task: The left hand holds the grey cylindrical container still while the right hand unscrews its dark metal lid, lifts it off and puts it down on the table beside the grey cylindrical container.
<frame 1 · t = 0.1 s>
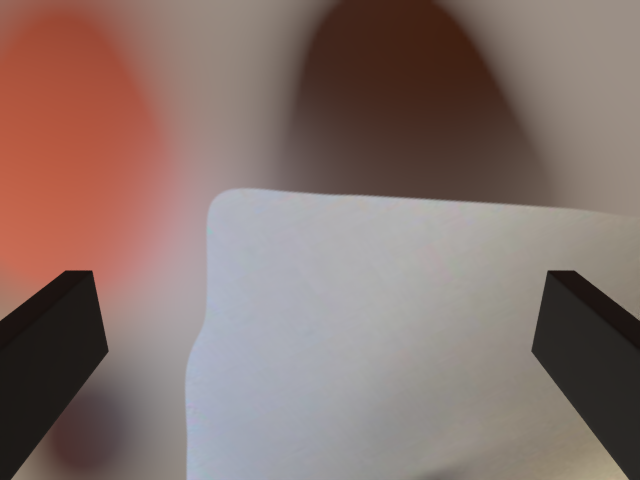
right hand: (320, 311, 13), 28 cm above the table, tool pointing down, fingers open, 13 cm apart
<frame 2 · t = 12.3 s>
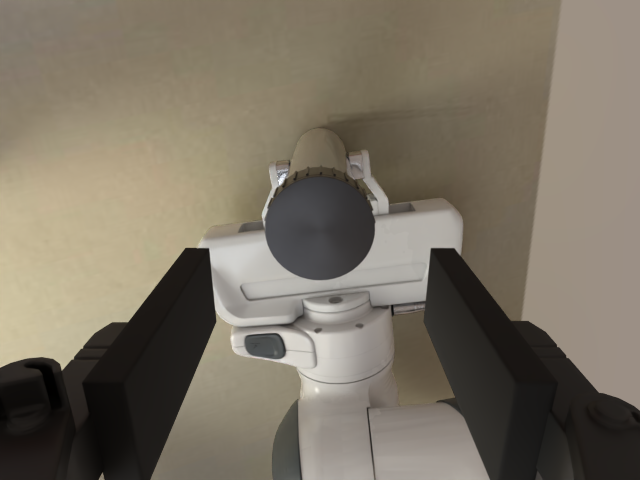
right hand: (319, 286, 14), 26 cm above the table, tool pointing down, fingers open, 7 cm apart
left hand: (317, 156, 32), fingers closed on grey cylindrical container, 4 cm apart
lid: (319, 228, 20), point 20 cm above the table, screwed on, not yet turned
grey cylindrical container: (320, 153, 38), on the table, touching left hand
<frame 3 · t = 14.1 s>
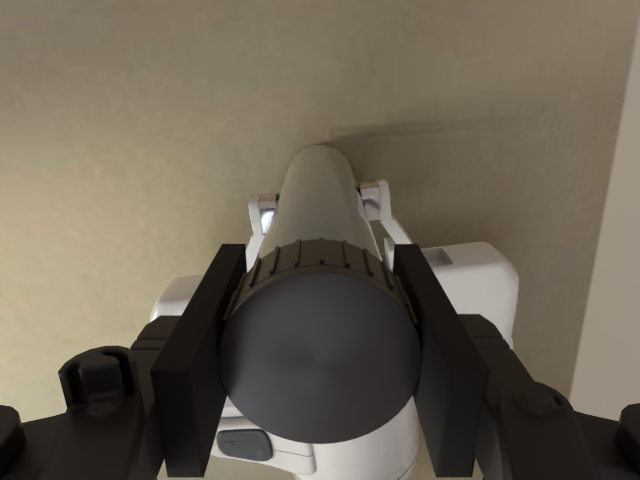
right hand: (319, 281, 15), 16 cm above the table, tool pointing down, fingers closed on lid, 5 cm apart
lid: (319, 356, 11), point 20 cm above the table, screwed on, not yet turned, touching right hand
grey cylindrical container: (320, 177, 29), on the table, touching left hand
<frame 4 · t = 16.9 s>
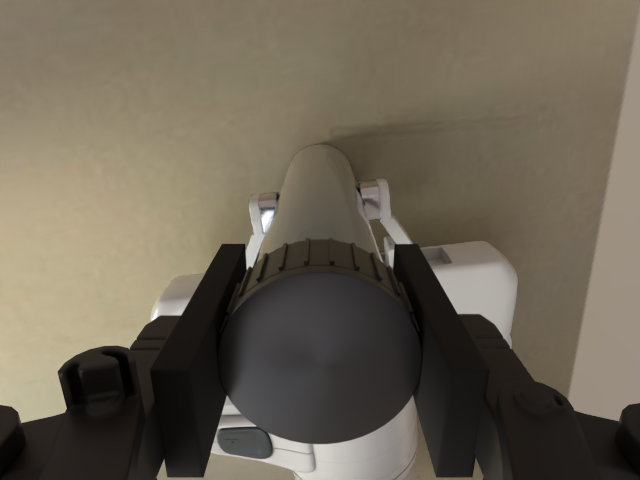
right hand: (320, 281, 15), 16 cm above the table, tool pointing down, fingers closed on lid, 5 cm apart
lid: (319, 357, 11), point 20 cm above the table, turned 64° so far, risen 0.2 cm, still on its thread, touching right hand
grey cylindrical container: (319, 176, 30), on the table, touching left hand
when the right hand's fingers open (0 cm above the table, at t = 25.5 s): lid drops 3 cm, point 2 cm above the table.
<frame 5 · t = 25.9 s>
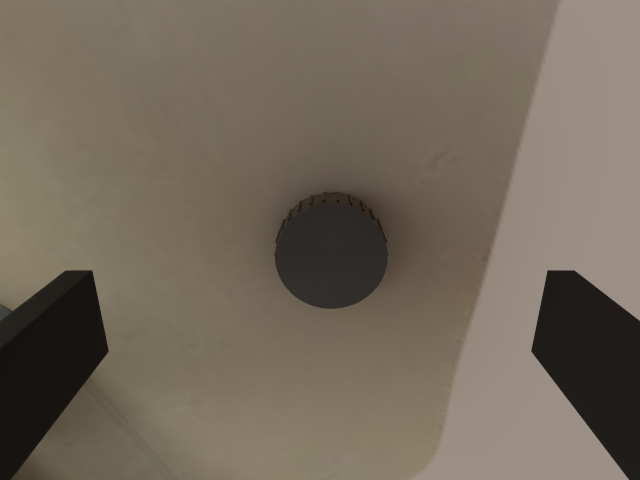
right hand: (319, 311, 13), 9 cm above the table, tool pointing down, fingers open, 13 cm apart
lid: (331, 255, 19), point 2 cm above the table, off its thread
when the left hand's fingers open (7 cm above the table, at t = 26.1 s): grey cylindrical container stays where it is, on the table.
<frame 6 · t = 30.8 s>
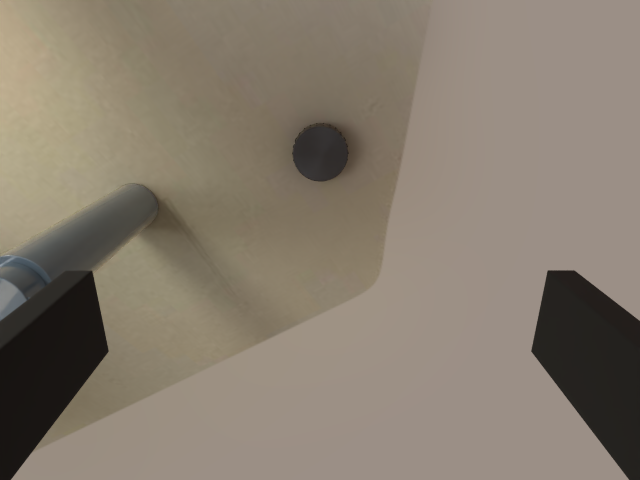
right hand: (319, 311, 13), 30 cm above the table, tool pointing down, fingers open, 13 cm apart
lid: (320, 153, 40), point 2 cm above the table, off its thread
grey cylindrical container: (135, 205, 43), on the table
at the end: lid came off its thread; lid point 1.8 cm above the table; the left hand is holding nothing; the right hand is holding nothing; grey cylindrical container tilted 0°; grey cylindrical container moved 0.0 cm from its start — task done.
